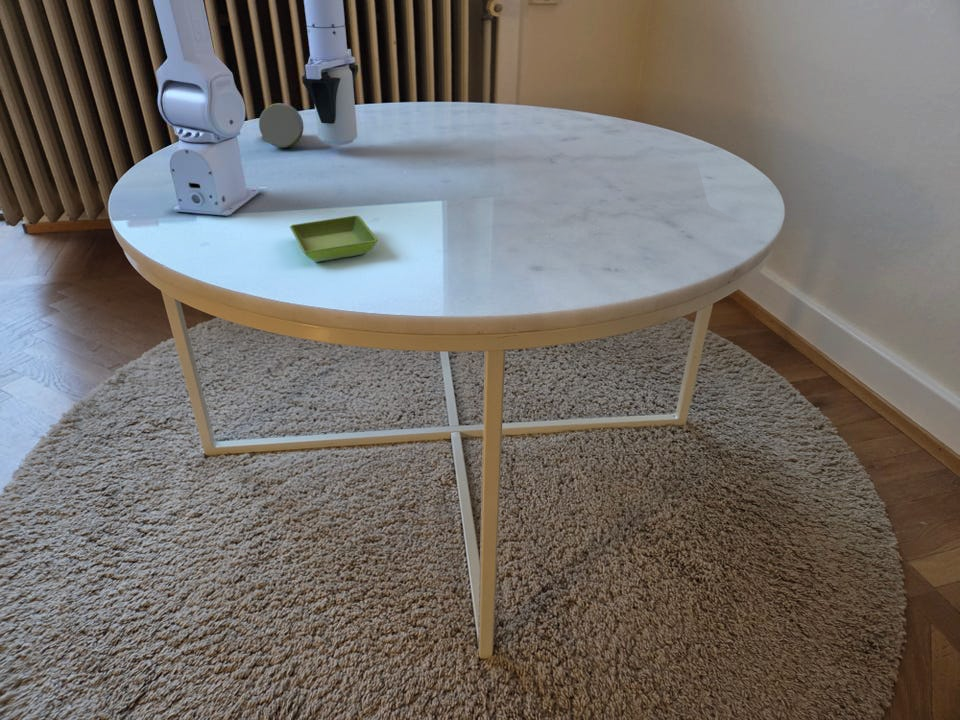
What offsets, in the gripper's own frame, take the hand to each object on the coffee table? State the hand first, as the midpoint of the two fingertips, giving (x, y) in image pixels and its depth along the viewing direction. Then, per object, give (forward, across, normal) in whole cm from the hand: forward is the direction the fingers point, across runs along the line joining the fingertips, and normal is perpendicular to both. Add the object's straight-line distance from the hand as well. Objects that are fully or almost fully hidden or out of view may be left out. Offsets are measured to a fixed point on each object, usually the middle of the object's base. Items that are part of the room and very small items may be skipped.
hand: (335, 117), depth 110 cm
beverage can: (+4, 0, 0) cm, 4 cm away
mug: (+6, +3, +11) cm, 13 cm away
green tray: (+6, -37, -13) cm, 40 cm away
